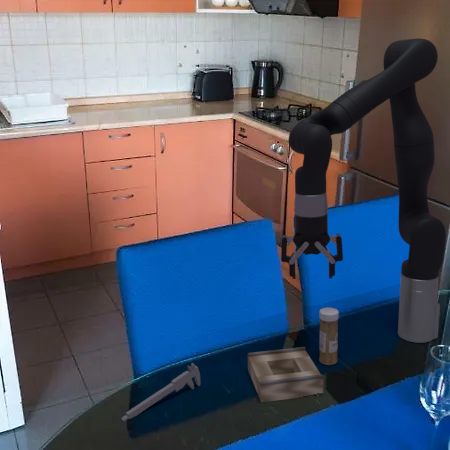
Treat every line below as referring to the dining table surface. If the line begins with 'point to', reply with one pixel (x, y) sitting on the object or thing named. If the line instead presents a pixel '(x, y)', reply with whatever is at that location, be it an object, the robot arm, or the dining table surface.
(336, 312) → the sprinkles bottle
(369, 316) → the dining table surface
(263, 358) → the block
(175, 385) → the caliper
